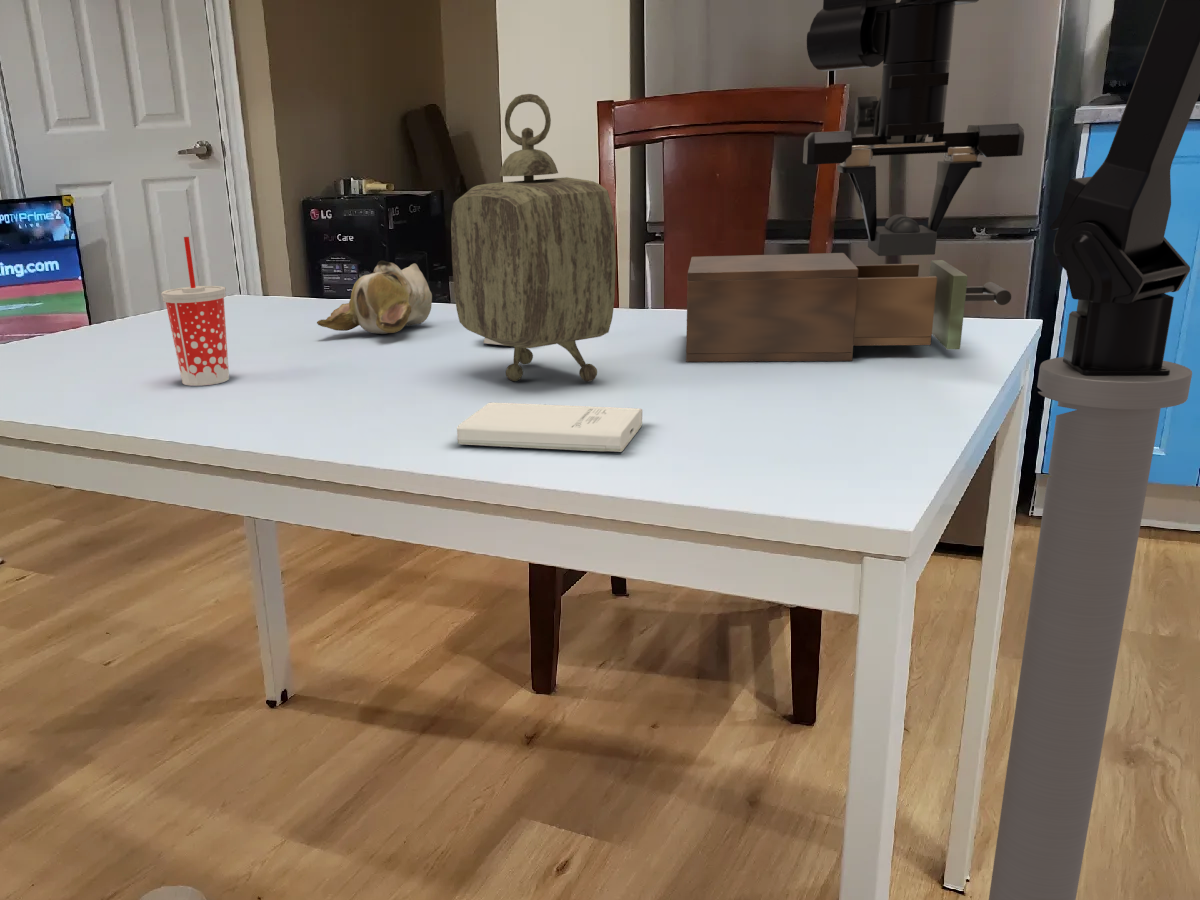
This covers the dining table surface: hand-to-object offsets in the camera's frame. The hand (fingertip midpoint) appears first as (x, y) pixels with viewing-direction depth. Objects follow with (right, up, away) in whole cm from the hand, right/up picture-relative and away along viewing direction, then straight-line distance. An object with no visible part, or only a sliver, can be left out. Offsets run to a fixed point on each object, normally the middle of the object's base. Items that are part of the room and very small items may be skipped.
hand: (901, 239), depth 105 cm
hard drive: (-35, -21, -21) cm, 46 cm away
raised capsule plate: (0, -1, 0) cm, 1 cm away
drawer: (+1, -9, +4) cm, 10 cm away
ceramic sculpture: (-52, -4, +27) cm, 59 cm away
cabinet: (-11, -9, +7) cm, 16 cm away
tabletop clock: (-36, -14, -1) cm, 38 cm away
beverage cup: (-68, -13, +5) cm, 70 cm away
